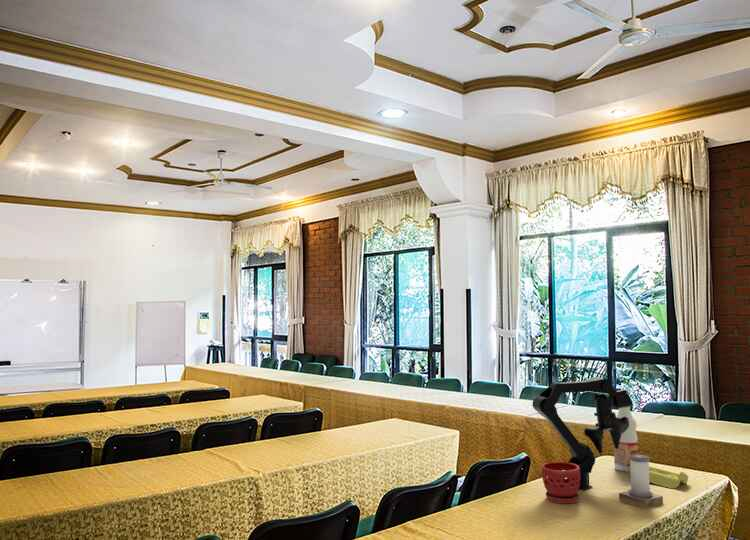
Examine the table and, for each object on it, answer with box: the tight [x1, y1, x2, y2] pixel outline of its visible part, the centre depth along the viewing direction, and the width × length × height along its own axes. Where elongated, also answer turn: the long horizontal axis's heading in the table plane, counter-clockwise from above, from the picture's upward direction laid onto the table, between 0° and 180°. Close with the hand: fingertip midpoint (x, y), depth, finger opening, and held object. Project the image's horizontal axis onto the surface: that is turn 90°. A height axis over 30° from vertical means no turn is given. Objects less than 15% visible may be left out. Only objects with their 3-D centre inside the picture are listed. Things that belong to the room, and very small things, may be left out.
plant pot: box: [541, 461, 581, 505], centre depth 209 cm, size 13×13×12 cm
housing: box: [628, 454, 653, 498], centre depth 207 cm, size 8×8×13 cm
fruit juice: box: [613, 406, 639, 473], centre depth 249 cm, size 9×9×28 cm
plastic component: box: [649, 466, 689, 489], centre depth 231 cm, size 20×7×10 cm
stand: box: [618, 490, 664, 509], centre depth 206 cm, size 10×10×2 cm
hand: (608, 450), depth 226 cm, fingers open, 9 cm apart
